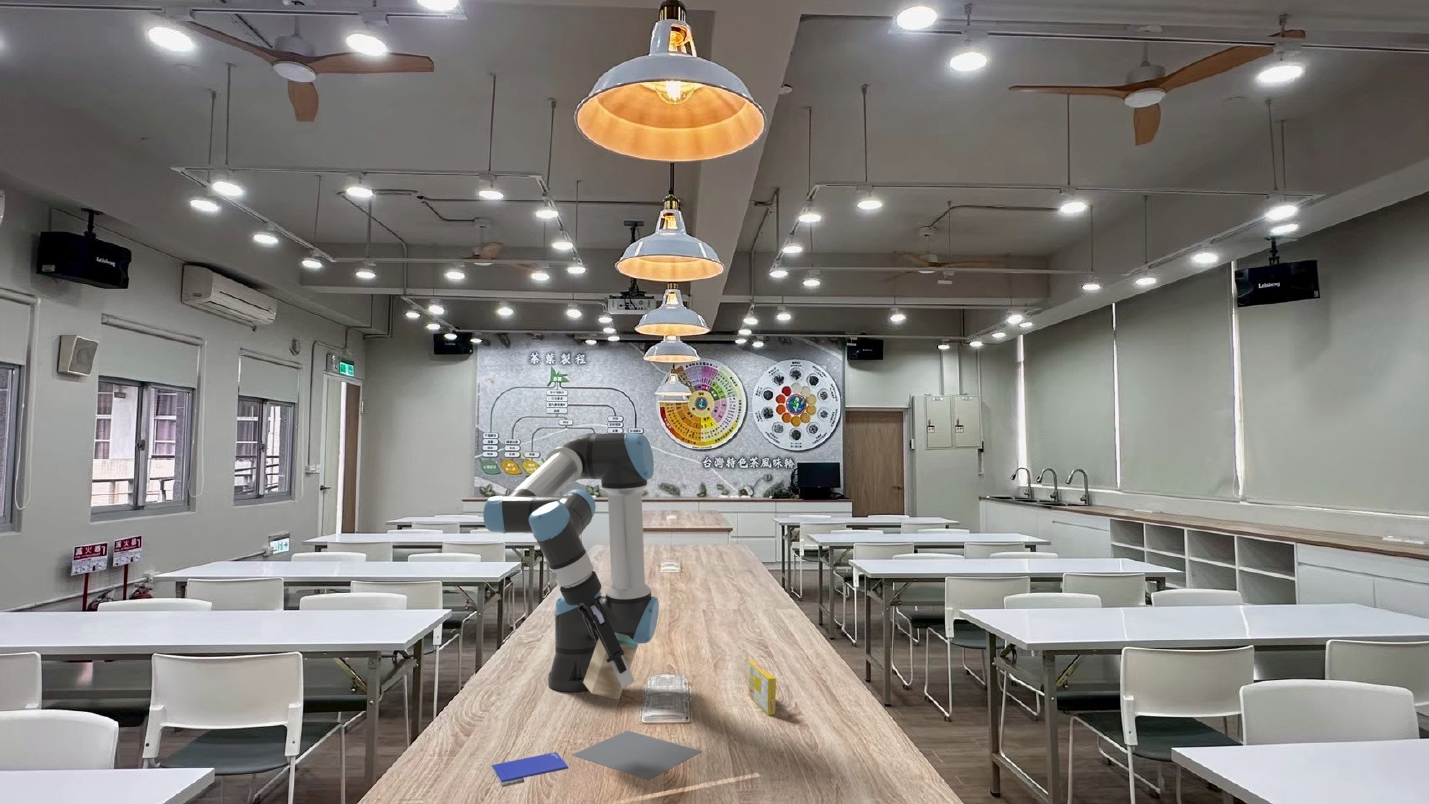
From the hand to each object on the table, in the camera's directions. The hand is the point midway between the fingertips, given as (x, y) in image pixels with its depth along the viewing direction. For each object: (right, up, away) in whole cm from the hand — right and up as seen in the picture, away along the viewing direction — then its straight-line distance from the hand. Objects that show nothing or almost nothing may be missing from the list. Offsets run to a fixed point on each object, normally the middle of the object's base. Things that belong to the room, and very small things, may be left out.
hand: (622, 678), depth 155 cm
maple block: (-4, -2, -2) cm, 5 cm away
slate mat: (+3, -14, -4) cm, 15 cm away
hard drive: (-16, -15, -10) cm, 24 cm away
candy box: (+30, -16, +27) cm, 43 cm away
